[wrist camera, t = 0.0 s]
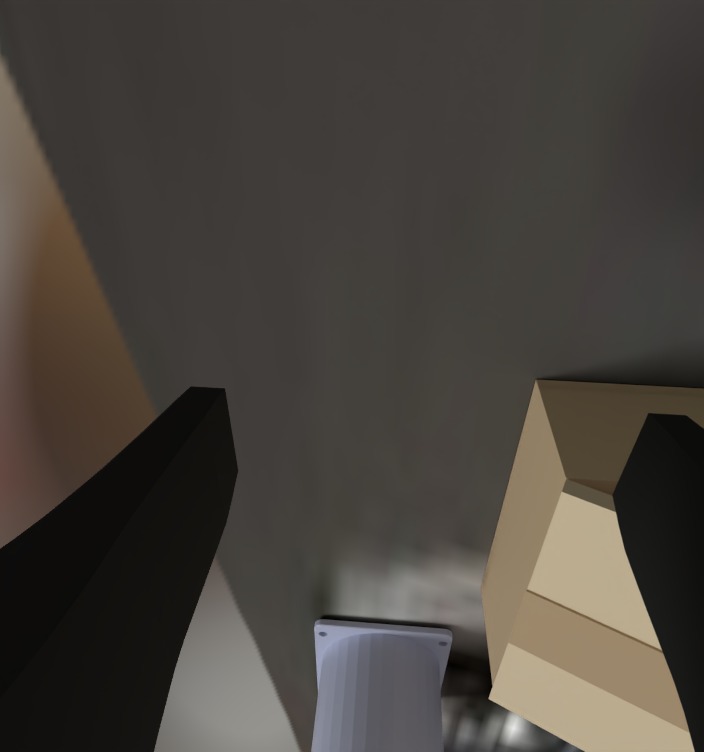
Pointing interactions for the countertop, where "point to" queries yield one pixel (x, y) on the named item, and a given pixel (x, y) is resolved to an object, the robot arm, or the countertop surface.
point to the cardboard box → (563, 476)
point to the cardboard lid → (590, 641)
